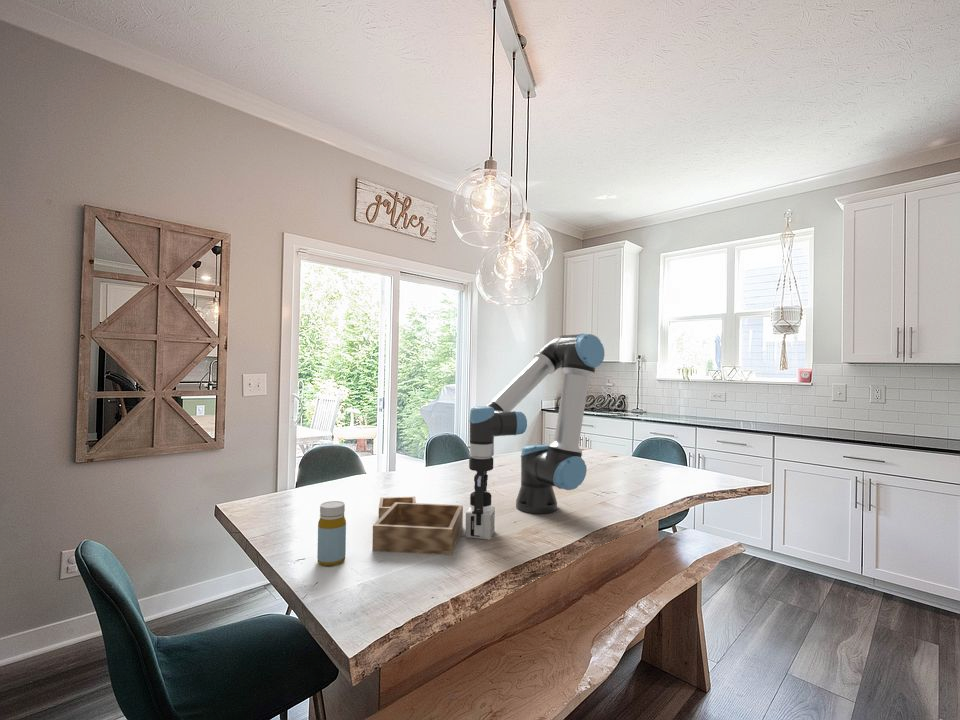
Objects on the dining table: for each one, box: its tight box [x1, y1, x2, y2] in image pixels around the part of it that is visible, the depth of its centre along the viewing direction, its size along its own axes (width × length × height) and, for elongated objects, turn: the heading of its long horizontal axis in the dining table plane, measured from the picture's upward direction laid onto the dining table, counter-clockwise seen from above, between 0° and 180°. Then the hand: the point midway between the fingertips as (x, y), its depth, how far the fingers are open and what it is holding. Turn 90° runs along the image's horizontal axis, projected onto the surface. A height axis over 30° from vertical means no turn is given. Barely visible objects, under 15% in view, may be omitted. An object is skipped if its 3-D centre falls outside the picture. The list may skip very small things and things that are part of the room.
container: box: [465, 491, 496, 540], centre depth 144 cm, size 8×8×13 cm
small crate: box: [377, 496, 417, 522], centre depth 156 cm, size 12×12×6 cm
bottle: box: [316, 500, 347, 567], centre depth 122 cm, size 7×7×15 cm
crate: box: [371, 502, 464, 556], centre depth 140 cm, size 22×22×7 cm
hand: (480, 529), depth 143 cm, fingers open, 9 cm apart
